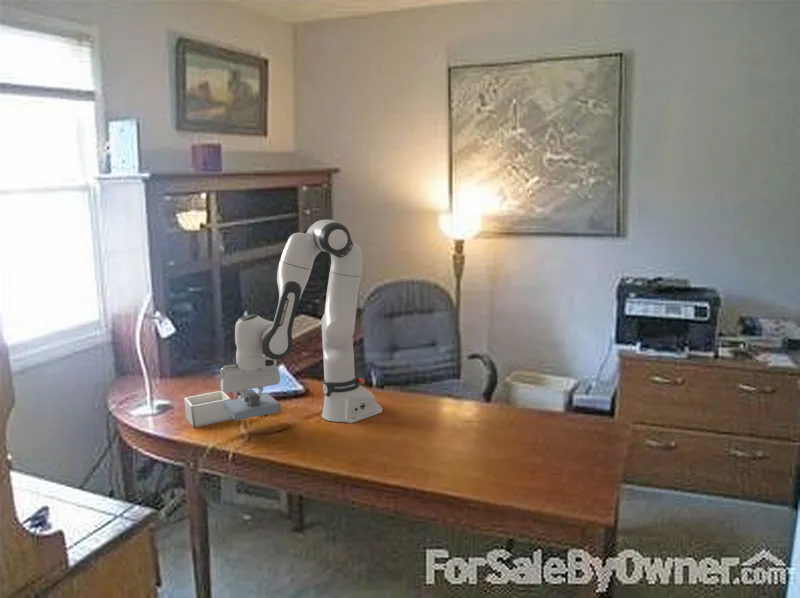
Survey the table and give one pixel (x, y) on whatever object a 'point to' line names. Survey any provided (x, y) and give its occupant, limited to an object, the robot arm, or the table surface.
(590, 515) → the table surface
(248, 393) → the lid
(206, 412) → the storage box
